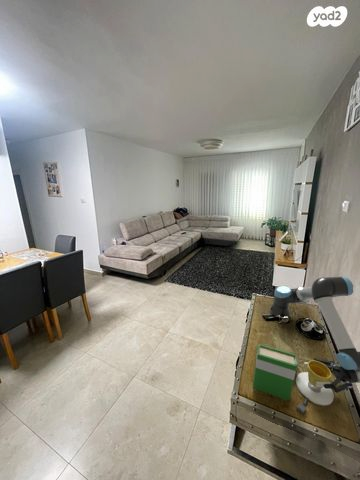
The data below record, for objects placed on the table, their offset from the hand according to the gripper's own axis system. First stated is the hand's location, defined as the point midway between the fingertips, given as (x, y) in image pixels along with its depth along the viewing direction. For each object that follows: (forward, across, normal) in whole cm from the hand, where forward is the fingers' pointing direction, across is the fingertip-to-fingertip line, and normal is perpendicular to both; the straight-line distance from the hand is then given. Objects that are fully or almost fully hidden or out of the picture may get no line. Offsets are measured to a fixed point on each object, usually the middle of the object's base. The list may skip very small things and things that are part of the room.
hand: (309, 374), depth 104 cm
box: (+7, +13, -11) cm, 19 cm away
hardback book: (+19, 0, -11) cm, 22 cm away
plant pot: (-4, 0, -6) cm, 7 cm away
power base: (-1, -3, -11) cm, 11 cm away
